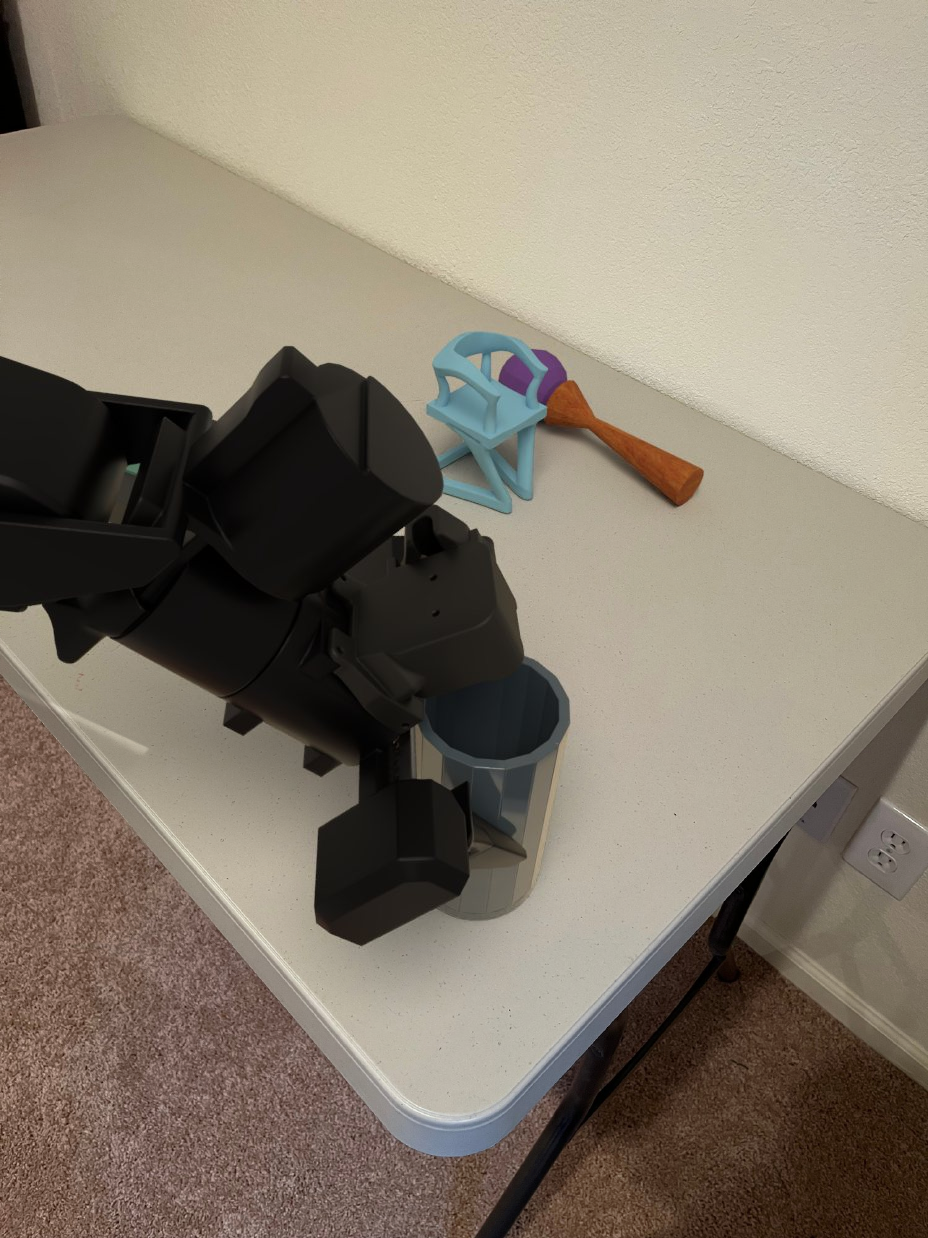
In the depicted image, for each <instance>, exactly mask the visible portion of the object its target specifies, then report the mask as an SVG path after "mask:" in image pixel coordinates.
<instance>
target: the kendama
mask: <svg viewBox="0 0 928 1238" xmlns="http://www.w3.org/2000/svg"><path fill="white" fill-rule="evenodd" d="M530 349H531V350H532V352H533V353H534V354H535V356H536V357H537V358H538V360H539V361H540V362H541V363H542V364H543V365H545V366H546V367H547V368H548V370H547V372H546V374H545V376H544V377H543V379H542V381H541V383H540V385H539V388H538V391H537V400H538V402H539V403H541V404H543V405H545V406H547V414H546V417H545V418H543V421H544V423H545V424H546V425H547V426H556V427H564V428H565V427H566V428H575V429H585V430H589V431H590V432H591V433H592V434H593V435H595V436H596V437H597V438H598V439H600V441H601V442H603V443H604V444H605V445H606V446H607V447H609V448H610V449H611V450H612V451H614V452H615V453H616V454H617V455H618V456H619V457H620V458H621V459H623V460H624V461H625V462H627V463H628V464H629V465H630V466H631V467H632V468H633V469H635V470H636V471H637V472H638V473H639V474H641V475H642V476H643V477H644V478H645V479H646V480H647V481H649V482H650V483H651V484H652V485H654V487H656V488H657V489H658V490H659V491H660V492H662V493H663V494H664V495H665V496H666V497H667V498H669V499H670V501H672V502H673V503H674V504H676V505H677V506H683V505H684V504H685V503H687V502H688V501H689V500H690V499H691V498H692V497H693V496H694V495H695V493H696V492H697V490H698V489H699V487H700V485H701V484H702V481H703V479H704V475H705V470H704V469H703V468H702V467H700V466H698V465H695V464H693V463H691V462H689V461H687V460H685V459H683V458H681V457H679V456H676V455H675V454H673V453H670V452H668V451H667V450H664V449H662V448H660V447H658V446H657V445H654V444H652V443H650V442H647V441H646V440H643V439H641V438H640V437H637V436H635V435H633V434H631V433H629V432H627V431H625V430H622V429H620V428H618V427H616V426H615V425H613V424H610V423H608V422H606V421H604V420H602V419H600V418H598V417H596V416H595V414H594V412H593V410H592V408H591V407H590V405H589V403H588V401H587V399H586V398H585V395H584V394H583V392H582V390H581V389H580V387H579V384H577V382H576V381H575V380H573V379H568V372H567V370H566V369H565V367H564V365H563V364H562V362H561V361H560V360H559V358H558V357H557V355H556V356H555V355H554V354H553V353H551V352H549V350H546V349H539V348H538V349H537V348H530ZM533 378H534V375H533V374H532V373H531V371H530V370H529V368H528V367H527V366H526V365H525V364H524V362H523V361H522V360H521V359H520V358H519V357H517V356H516V355H515V354H513V355H511V356H510V357H508V358H507V360H506V361H505V363H504V364H503V365H502V366H501V369H500V371H499V374H498V380H497V381H498V382H499V383H501V384H503V385H504V386H506V387H507V388H509V389H511V390H513V391H515V392H517V393H519V394H521V395H523V396H525V397H526V392H527V389H528V387H529V385H530V383H531V381H532V380H533Z"/></svg>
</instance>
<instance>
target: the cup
mask: <svg viewBox="0 0 928 1238" xmlns="http://www.w3.org/2000/svg"><path fill="white" fill-rule="evenodd" d="M417 700H419V701H421V702H422V703H423V721H422V722H420V723H419V724H417V725H415V734H416V761H417V779H432V780H434V781H435V782H437V783H439V784H441V785H442V786H444V787H446V788H448V789H449V790H451V789H453V788H455V787H457V786H458V785H460V784H462V783H463V782H465V781H468V782H469V784H470V796H471V807H472V812H474V813H475V814H477V815H478V816H480V817H481V818H483V819H484V820H486V821H487V822H489V823H491V824H492V825H494V826H495V827H497V828H498V829H500V830H501V831H503V832H504V833H506V834H507V835H509V836H510V837H512V838H513V839H514V840H515V841H516V842H517V843H519V844H520V845H521V846H522V847H523V848H524V849H525V850H526V853H527V859H526V860H524V861H522V862H520V863H518V864H516V865H514V866H512V867H503V868H489V869H475V870H470V877H469V879H468V881H467V883H466V885H465V887H464V888H463V890H462V892H461V894H460V896H459V897H457V898H455V899H453V900H451V901H449V902H447V903H445V904H443V905H441V906H439V907H437V908H436V909H438V910H439V911H441V912H443V913H445V914H446V915H449V916H451V917H454V918H456V919H460V920H466V921H477V922H479V921H488V920H493V919H497V918H500V917H502V916H505V915H507V914H510V913H511V912H513V911H515V909H517V908H519V907H520V906H521V905H522V904H524V902H525V901H526V899H527V898H528V897H529V896H530V895H531V893H532V891H533V889H534V887H535V885H536V882H537V878H538V875H539V872H540V870H541V865H542V862H543V861H542V860H543V857H544V856H543V855H544V850H545V846H546V841H547V836H548V831H549V828H550V822H551V817H552V813H553V809H554V808H553V807H554V803H555V797H556V794H557V788H558V783H559V779H560V774H561V770H562V764H563V760H564V755H565V750H566V745H567V742H568V741H567V740H568V735H569V730H570V727H571V705H570V704H571V703H570V698H569V696H568V694H567V692H566V691H565V688H564V687H563V685H562V683H561V681H560V679H559V678H558V677H557V675H555V674H554V673H553V672H551V671H550V670H549V669H548V668H547V667H545V666H544V665H543V664H542V663H540V662H539V661H538V660H536V659H534V658H531V657H529V656H526V655H524V660H523V662H522V664H521V666H520V667H519V668H518V670H517V671H515V672H514V673H513V674H512V675H510V676H508V677H506V678H504V679H501V680H498V681H495V682H492V681H483V682H480V683H477V684H474V685H471V686H467V687H464V688H461V689H458V690H455V691H452V692H449V693H446V694H442V695H439V696H436V697H432V698H427V699H423V698H418V697H417Z"/></svg>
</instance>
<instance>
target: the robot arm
mask: <svg viewBox="0 0 928 1238" xmlns="http://www.w3.org/2000/svg"><path fill="white" fill-rule="evenodd" d="M213 418H214V415H213V411H212V410H211V409H210V407H208V406H207V405H205V404H201V403H200V404H199V403H191V402H185V401H184V402H183V401H177V400H176V401H175V400H168V399H167V400H166V399H160V398H151V397H144V396H134V395H128V394H119V393H111V392H104V391H102V392H101V391H96V390H87V389H85V388H84V387H83V386H81V385H80V384H79V383H76V382H74V381H73V380H69V379H68V378H66V377H62V376H60V375H58V374H54V373H52V372H49V371H46V370H44V369H40V368H38V367H34V366H32V365H28V364H25V363H22V362H21V361H20V362H19V361H17V360H14V359H11V358H8V357H5V356H3V355H0V612H8V613H24V612H25V611H27V610H28V607H35V606H40V605H41V607H42V609H43V610H44V611H45V613H46V614H47V615H48V618H49V620H50V623H51V627H52V633H53V641H54V645H55V651H56V656H57V659H58V660H59V661H60V662H62V663H64V664H67V665H73V664H76V663H77V662H79V661H80V660H81V659H82V658H83V657H84V656H86V654H88V653H89V652H91V650H92V649H93V648H95V647H96V646H97V645H98V644H99V643H100V642H101V641H102V640H104V639H106V637H108V638H109V639H110V640H112V641H114V642H116V643H118V644H120V645H121V646H123V647H125V648H127V649H129V650H131V651H132V652H134V653H136V654H138V655H140V656H141V657H143V658H145V659H147V660H149V661H151V662H153V663H154V664H156V665H158V666H160V667H161V668H163V669H165V670H167V671H169V672H171V673H173V674H174V675H176V676H178V677H180V678H181V679H184V680H185V681H188V682H189V683H191V684H192V685H195V686H197V687H199V688H200V689H202V690H203V691H205V692H208V694H211V695H213V696H215V697H216V698H218V699H220V700H221V701H224V702H225V708H224V716H223V721H222V726H223V727H225V728H227V729H229V730H230V731H232V732H234V733H236V734H238V735H240V736H242V737H244V736H245V735H248V734H249V733H250V732H251V731H253V730H254V729H255V728H257V727H258V726H260V725H261V724H263V723H264V724H266V725H268V726H270V727H271V728H274V729H275V730H277V731H279V732H281V733H283V734H284V735H287V736H288V737H290V738H292V739H293V740H295V741H297V742H299V743H301V744H303V745H304V747H303V748H304V749H303V759H302V760H303V763H302V768H303V769H304V770H307V771H308V772H310V773H312V774H314V775H316V776H318V777H320V778H322V777H324V776H325V775H327V774H328V773H330V772H332V771H334V770H335V769H336V768H337V767H340V766H342V764H343V765H345V766H346V767H358V803H356V804H355V805H353V806H351V807H350V808H348V809H347V810H345V811H343V812H342V813H340V814H338V815H337V816H335V817H333V818H332V819H330V820H329V821H327V822H325V823H324V824H322V825H321V826H319V827H317V839H316V840H317V841H316V842H317V843H316V861H315V864H316V865H315V878H314V897H313V898H314V900H313V910H314V917H315V924H316V925H318V926H319V927H320V928H322V930H325V931H326V932H327V933H329V934H330V935H331V936H334V937H337V938H340V939H342V940H345V941H347V942H350V943H352V944H354V945H357V946H359V947H363V946H366V945H367V944H369V943H371V942H373V941H376V940H377V939H380V938H381V937H383V936H385V935H387V934H389V933H391V932H392V931H395V930H397V929H398V928H400V927H402V926H405V925H406V924H409V923H410V922H412V921H414V920H416V919H418V918H420V917H421V916H424V915H426V914H427V913H429V912H431V911H433V910H435V909H438V908H437V907H439V906H441V905H443V904H445V903H447V902H449V901H451V900H453V899H455V898H457V897H459V896H460V894H461V892H462V890H463V888H464V887H465V885H466V883H467V881H468V879H469V877H470V870H475V869H489V868H503V867H512V866H514V865H516V864H518V863H520V862H522V861H524V860H526V859H527V853H526V850H525V849H524V848H523V847H522V846H521V845H520V844H519V843H517V842H516V841H515V840H514V839H513V838H512V837H510V836H509V835H507V834H506V833H504V832H503V831H501V830H500V829H498V828H497V827H495V826H494V825H492V824H491V823H489V822H487V821H486V820H484V819H483V818H481V817H480V816H478V815H477V814H475V813H474V812H472V807H471V796H470V784H469V782H468V781H465V782H463V783H462V784H460V785H458V786H457V787H455V788H453V789H451V790H449V789H448V788H446V787H444V786H442V785H441V784H439V783H437V782H435V781H434V780H432V779H417V761H416V734H415V725H417V724H419V723H420V722H422V721H423V703H422V702H421V701H419V700H417V697H418V698H423V699H427V698H432V697H436V696H439V695H442V694H446V693H449V692H452V691H455V690H458V689H461V688H464V687H467V686H471V685H474V684H477V683H480V682H483V681H492V682H495V681H498V680H501V679H504V678H506V677H508V676H510V675H512V674H513V673H514V672H515V671H517V670H518V668H519V667H520V666H521V664H522V662H523V660H524V656H525V648H524V644H523V640H522V637H521V630H520V629H521V628H520V624H519V617H518V611H517V610H518V605H517V604H518V603H517V600H516V597H515V596H514V594H513V592H512V589H511V587H510V586H509V584H508V582H507V580H506V579H505V576H504V574H503V573H502V570H501V568H500V567H499V564H498V562H497V556H496V550H495V542H494V540H493V538H491V537H490V536H488V535H481V533H480V531H479V529H478V528H477V527H475V528H472V529H471V528H470V526H469V525H468V524H467V523H466V522H465V521H463V520H462V519H460V518H458V517H457V516H455V515H454V514H452V513H451V512H449V511H447V510H446V509H444V508H442V507H441V506H440V505H438V504H436V503H437V502H438V501H439V500H440V498H441V497H442V496H443V487H444V481H443V477H444V476H443V472H442V468H440V465H439V462H438V459H437V457H438V456H437V455H436V453H435V450H434V448H433V447H432V445H431V443H430V441H429V440H428V438H427V436H426V434H425V432H424V431H423V430H422V428H421V427H420V425H419V424H418V423H417V420H415V418H414V417H413V415H412V413H410V412H409V411H408V409H407V408H406V407H405V406H404V405H403V403H402V402H401V401H400V400H399V399H398V398H397V396H395V395H394V394H393V393H392V392H391V391H390V390H389V389H388V388H387V387H386V386H385V385H383V384H382V383H381V382H380V381H379V380H378V379H377V378H375V377H374V376H372V375H368V376H367V377H365V376H363V375H361V374H360V373H359V372H357V371H355V370H353V368H350V367H347V366H344V365H343V364H340V363H334V362H325V363H321V364H319V365H316V364H315V363H314V361H312V360H311V359H309V358H308V357H307V356H305V355H304V354H303V353H302V352H301V351H300V350H299V349H298V348H297V347H295V346H293V345H284V346H282V347H281V348H280V350H278V351H277V353H275V354H274V355H273V356H272V357H271V358H270V359H269V360H268V361H267V362H266V363H265V365H264V366H262V368H261V369H260V370H259V372H258V374H257V375H256V377H255V379H254V381H253V382H252V384H251V386H250V387H249V388H248V390H246V392H244V394H243V395H242V396H240V397H239V399H237V401H235V403H234V404H233V405H231V406H230V407H229V408H228V410H226V411H225V412H224V414H222V415H221V416H220V417H219V418H218V419H217V420H216V422H215V423H214V424H213V425H212V426H211V423H212V419H213ZM134 464H140V466H139V469H138V472H137V475H136V478H135V482H134V485H133V488H132V491H131V494H130V497H129V500H128V504H127V507H126V510H125V513H124V516H123V519H122V523H121V524H117V523H111V522H109V520H110V517H111V514H112V511H113V508H114V505H115V502H116V499H117V496H118V493H119V490H120V487H121V484H122V480H123V477H124V474H125V471H126V467H127V466H128V465H134ZM402 529H404V535H396V534H398V532H400V531H401V530H402Z"/></svg>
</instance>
